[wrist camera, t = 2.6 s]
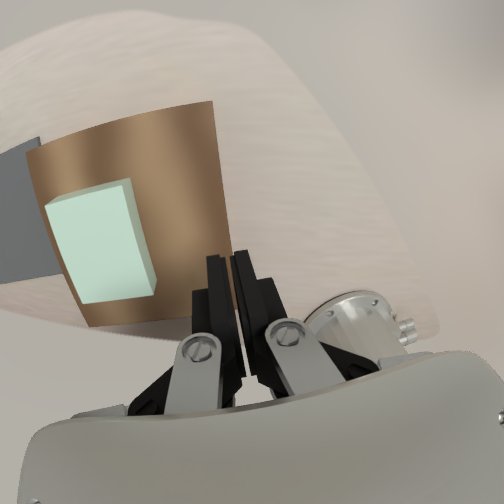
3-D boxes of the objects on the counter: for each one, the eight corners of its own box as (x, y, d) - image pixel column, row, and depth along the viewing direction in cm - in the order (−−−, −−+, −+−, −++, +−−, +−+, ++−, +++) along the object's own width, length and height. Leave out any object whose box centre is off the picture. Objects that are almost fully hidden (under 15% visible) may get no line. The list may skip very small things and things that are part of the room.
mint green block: (130, 177, 17) (121, 185, 15) (157, 279, 21) (153, 295, 19) (57, 196, 17) (44, 205, 15) (90, 289, 21) (82, 304, 19)
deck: (211, 102, 19) (212, 100, 16) (235, 281, 27) (240, 308, 24) (49, 143, 18) (25, 152, 15) (100, 300, 26) (89, 327, 22)
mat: (39, 136, 18) (37, 137, 17) (77, 268, 24) (76, 270, 23) (-36, 175, 17) (-39, 176, 16) (1, 282, 23) (-1, 284, 22)
